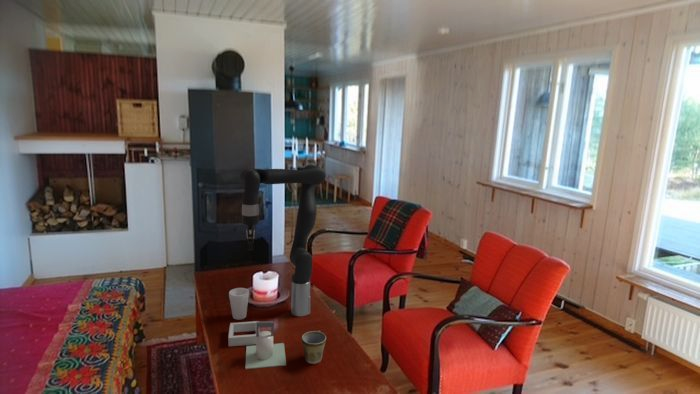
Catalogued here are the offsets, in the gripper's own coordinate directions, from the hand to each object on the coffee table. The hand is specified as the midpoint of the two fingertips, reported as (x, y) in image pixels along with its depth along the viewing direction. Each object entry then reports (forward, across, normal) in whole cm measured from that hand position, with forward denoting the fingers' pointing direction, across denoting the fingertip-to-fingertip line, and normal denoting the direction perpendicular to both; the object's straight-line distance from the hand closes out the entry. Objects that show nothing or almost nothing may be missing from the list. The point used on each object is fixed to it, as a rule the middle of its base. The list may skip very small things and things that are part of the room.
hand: (250, 247), depth 192 cm
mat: (+38, -28, -6) cm, 48 cm away
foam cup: (+38, +8, +6) cm, 40 cm away
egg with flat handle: (+38, -28, -6) cm, 47 cm away
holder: (+38, -12, +3) cm, 40 cm away
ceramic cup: (+38, -32, -26) cm, 56 cm away
